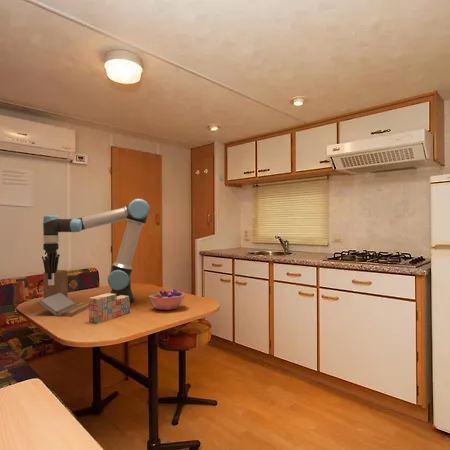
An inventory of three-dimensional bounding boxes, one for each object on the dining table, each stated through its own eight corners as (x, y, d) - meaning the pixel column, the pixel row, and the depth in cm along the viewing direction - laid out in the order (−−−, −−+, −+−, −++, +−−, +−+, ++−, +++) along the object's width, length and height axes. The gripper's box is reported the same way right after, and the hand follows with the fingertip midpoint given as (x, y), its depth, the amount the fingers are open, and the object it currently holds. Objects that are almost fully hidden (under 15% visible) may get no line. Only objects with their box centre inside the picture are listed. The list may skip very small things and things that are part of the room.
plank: (74, 307, 192) (76, 304, 192) (56, 315, 174) (58, 312, 174) (58, 295, 193) (60, 292, 193) (38, 302, 175) (40, 299, 175)
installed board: (91, 307, 192) (91, 303, 192) (72, 316, 172) (72, 312, 172) (78, 307, 193) (78, 303, 193) (57, 316, 173) (57, 312, 173)
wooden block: (57, 305, 198) (56, 272, 197) (43, 304, 200) (42, 272, 199) (68, 301, 207) (67, 269, 207) (54, 301, 209) (54, 269, 209)
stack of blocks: (121, 311, 181) (121, 289, 181) (130, 313, 178) (129, 290, 178) (88, 322, 163) (88, 297, 163) (97, 323, 160) (97, 298, 159)
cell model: (154, 305, 194) (153, 286, 194) (187, 305, 193) (187, 286, 192) (145, 313, 177) (145, 292, 177) (182, 313, 176) (181, 292, 176)
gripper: (51, 242, 190) (52, 282, 190) (36, 243, 177) (37, 287, 177) (64, 242, 190) (64, 282, 190) (50, 243, 177) (50, 287, 177)
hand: (51, 284), depth 183 cm, fingers closed
